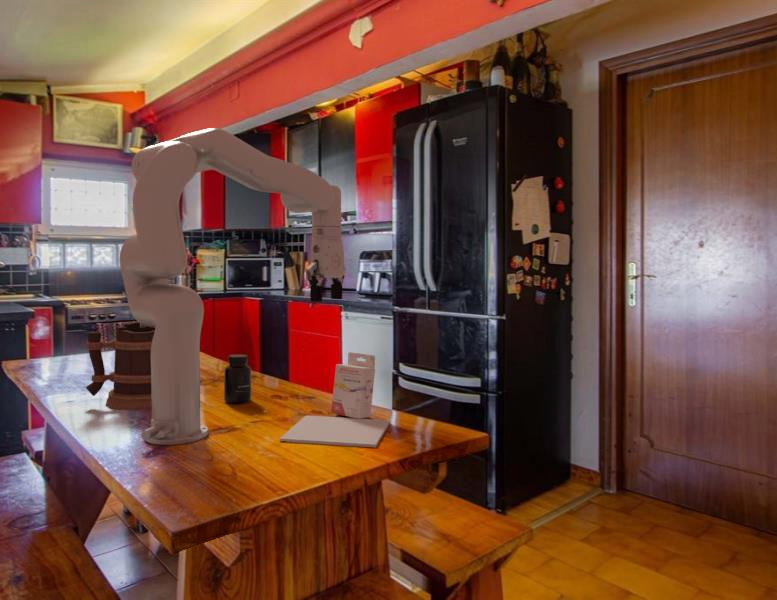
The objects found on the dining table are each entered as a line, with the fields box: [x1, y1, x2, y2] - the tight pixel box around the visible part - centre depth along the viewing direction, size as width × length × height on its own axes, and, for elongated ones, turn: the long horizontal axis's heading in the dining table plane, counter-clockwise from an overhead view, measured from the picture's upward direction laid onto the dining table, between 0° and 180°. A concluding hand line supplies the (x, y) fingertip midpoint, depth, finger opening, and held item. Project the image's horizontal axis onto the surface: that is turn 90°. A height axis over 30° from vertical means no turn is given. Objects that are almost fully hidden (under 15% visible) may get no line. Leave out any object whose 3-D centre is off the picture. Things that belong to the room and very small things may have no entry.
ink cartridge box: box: [330, 352, 376, 419], centre depth 139 cm, size 9×5×15 cm, turn 57°
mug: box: [85, 321, 155, 411], centre depth 150 cm, size 18×23×20 cm
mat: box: [278, 415, 391, 448], centre depth 127 cm, size 18×20×1 cm
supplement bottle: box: [223, 354, 252, 405], centre depth 152 cm, size 7×7×12 cm
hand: (326, 300), depth 152 cm, fingers open, 9 cm apart
